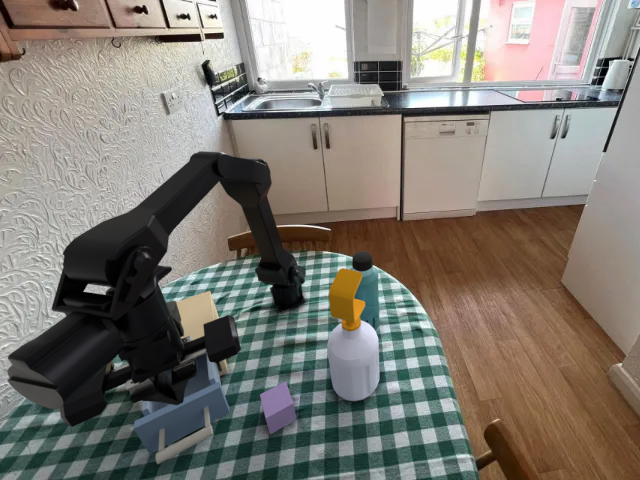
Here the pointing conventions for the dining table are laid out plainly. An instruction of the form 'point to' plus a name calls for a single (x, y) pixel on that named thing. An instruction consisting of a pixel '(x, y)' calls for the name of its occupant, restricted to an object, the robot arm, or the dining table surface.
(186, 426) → the blue drawer
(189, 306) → the drawer cabinet
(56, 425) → the dining table surface
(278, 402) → the purple cube
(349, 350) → the spray bottle
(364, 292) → the beverage bottle
